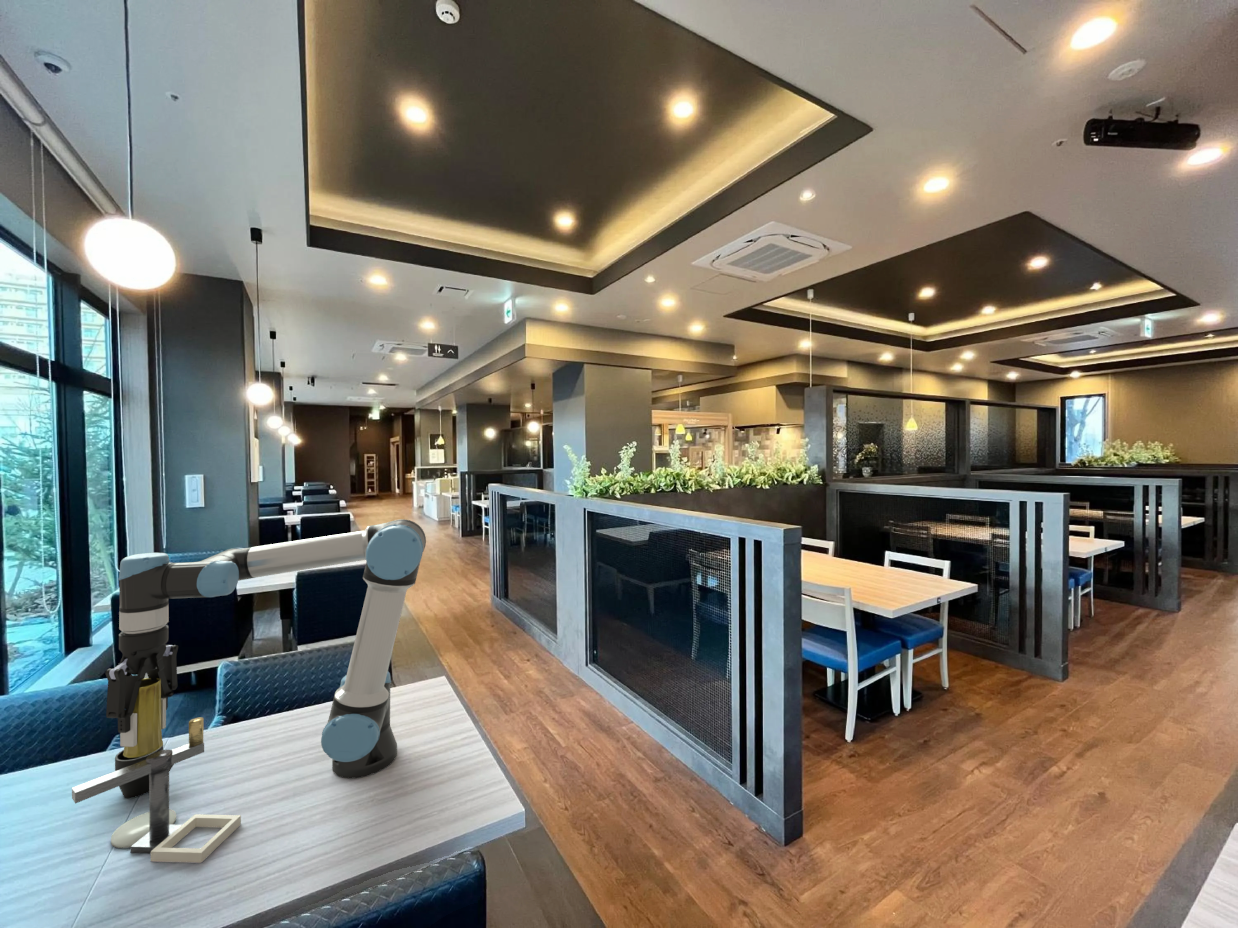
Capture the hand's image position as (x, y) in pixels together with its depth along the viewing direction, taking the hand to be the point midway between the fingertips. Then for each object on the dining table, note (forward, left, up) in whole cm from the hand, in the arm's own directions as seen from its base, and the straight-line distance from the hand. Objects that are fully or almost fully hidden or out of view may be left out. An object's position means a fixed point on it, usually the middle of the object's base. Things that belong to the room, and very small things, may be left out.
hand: (143, 736), depth 104 cm
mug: (+11, -12, -20) cm, 26 cm away
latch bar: (-5, +5, -5) cm, 8 cm away
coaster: (0, 0, -20) cm, 20 cm away
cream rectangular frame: (-14, +3, -20) cm, 25 cm away
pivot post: (-6, +3, -20) cm, 21 cm away
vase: (0, 0, -3) cm, 3 cm away
